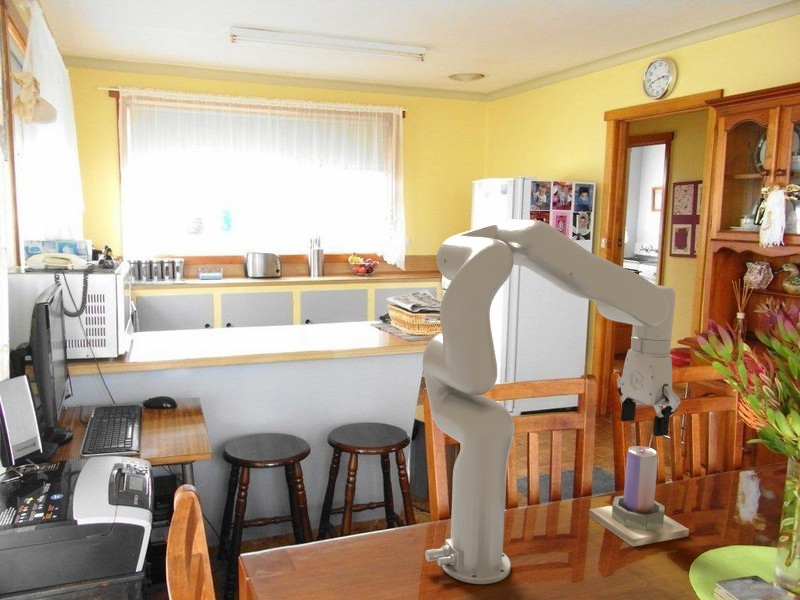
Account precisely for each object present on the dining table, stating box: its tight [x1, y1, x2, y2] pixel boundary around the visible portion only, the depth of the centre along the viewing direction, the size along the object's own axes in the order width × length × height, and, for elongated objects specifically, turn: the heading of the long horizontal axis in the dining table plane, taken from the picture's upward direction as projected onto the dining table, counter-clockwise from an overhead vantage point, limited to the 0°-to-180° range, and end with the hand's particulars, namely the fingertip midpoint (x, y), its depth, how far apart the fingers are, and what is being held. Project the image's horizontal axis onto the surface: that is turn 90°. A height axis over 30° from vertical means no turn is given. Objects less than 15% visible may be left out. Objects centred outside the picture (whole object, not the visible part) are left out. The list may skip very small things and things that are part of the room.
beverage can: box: [623, 445, 659, 515], centre depth 136 cm, size 6×6×15 cm
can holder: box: [588, 495, 690, 548], centre depth 137 cm, size 14×14×4 cm
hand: (643, 427), depth 135 cm, fingers open, 9 cm apart
